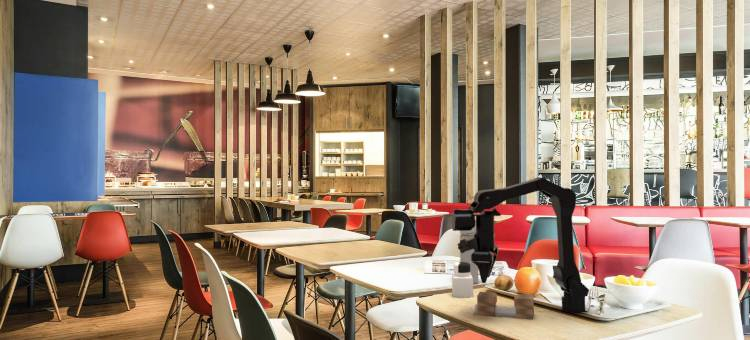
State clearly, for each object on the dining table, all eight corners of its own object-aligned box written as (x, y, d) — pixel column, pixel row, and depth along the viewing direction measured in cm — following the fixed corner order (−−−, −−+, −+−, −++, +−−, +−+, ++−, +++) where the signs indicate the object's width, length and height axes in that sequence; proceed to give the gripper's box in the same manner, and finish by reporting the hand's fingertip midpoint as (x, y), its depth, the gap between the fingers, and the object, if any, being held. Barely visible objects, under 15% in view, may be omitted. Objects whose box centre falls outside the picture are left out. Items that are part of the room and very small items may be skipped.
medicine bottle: (471, 292, 191) (470, 260, 191) (473, 297, 184) (472, 264, 184) (452, 292, 192) (451, 260, 192) (453, 297, 185) (452, 264, 185)
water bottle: (460, 284, 206) (459, 222, 206) (460, 280, 213) (459, 220, 213) (483, 285, 204) (482, 222, 204) (482, 280, 212) (481, 220, 212)
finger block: (497, 311, 162) (496, 292, 162) (495, 316, 157) (494, 297, 157) (480, 310, 164) (479, 291, 164) (477, 315, 158) (477, 295, 158)
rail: (533, 316, 158) (533, 306, 158) (533, 322, 153) (532, 311, 153) (475, 312, 165) (475, 302, 165) (472, 317, 159) (472, 307, 159)
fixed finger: (533, 314, 158) (533, 294, 159) (533, 319, 153) (532, 299, 153) (515, 312, 160) (515, 293, 160) (514, 318, 155) (514, 298, 155)
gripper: (464, 226, 172) (465, 273, 172) (454, 233, 154) (454, 284, 154) (498, 227, 168) (498, 274, 168) (491, 234, 151) (492, 287, 151)
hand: (485, 280), depth 160 cm, fingers open, 9 cm apart
